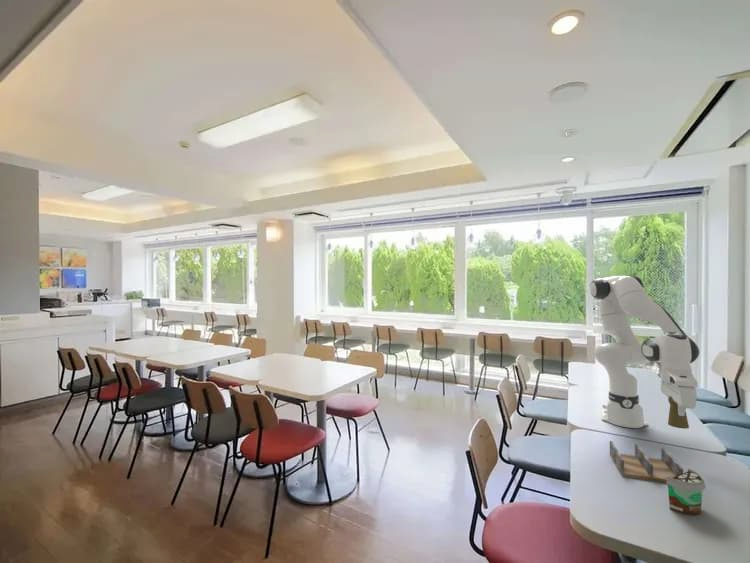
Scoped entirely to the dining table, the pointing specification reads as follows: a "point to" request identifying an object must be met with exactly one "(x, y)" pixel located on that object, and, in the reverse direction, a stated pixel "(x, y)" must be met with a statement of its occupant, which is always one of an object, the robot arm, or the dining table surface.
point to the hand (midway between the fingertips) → (677, 412)
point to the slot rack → (645, 465)
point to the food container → (686, 492)
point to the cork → (676, 416)
